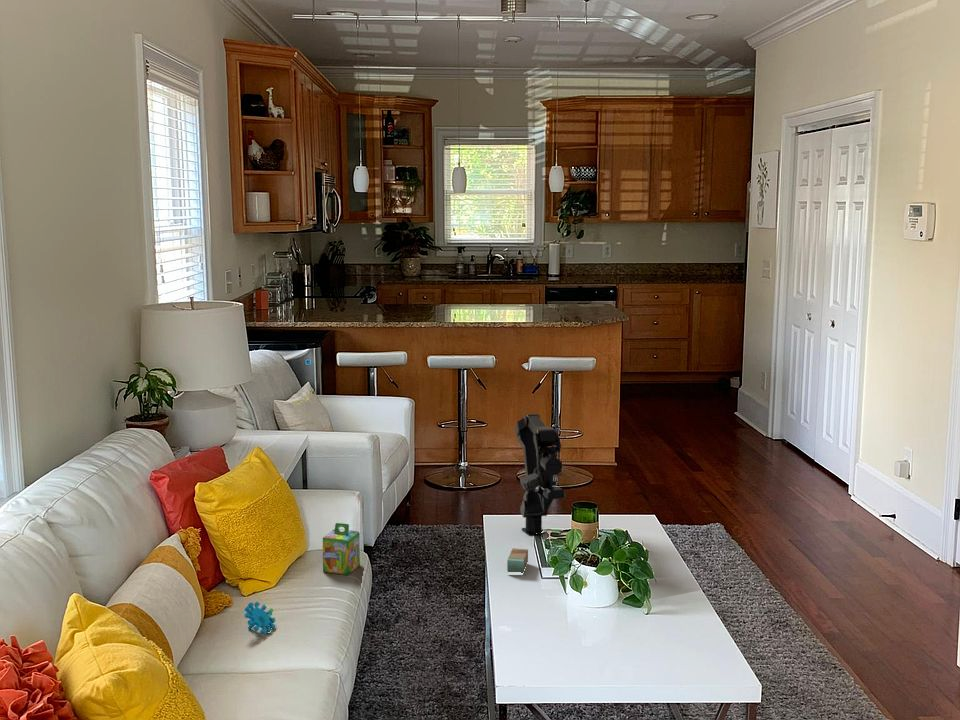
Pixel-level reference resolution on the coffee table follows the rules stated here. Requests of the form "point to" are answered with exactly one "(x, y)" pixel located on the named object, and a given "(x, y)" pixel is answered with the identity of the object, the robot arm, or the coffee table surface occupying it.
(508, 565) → the block
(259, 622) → the gear
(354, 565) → the chalk box
